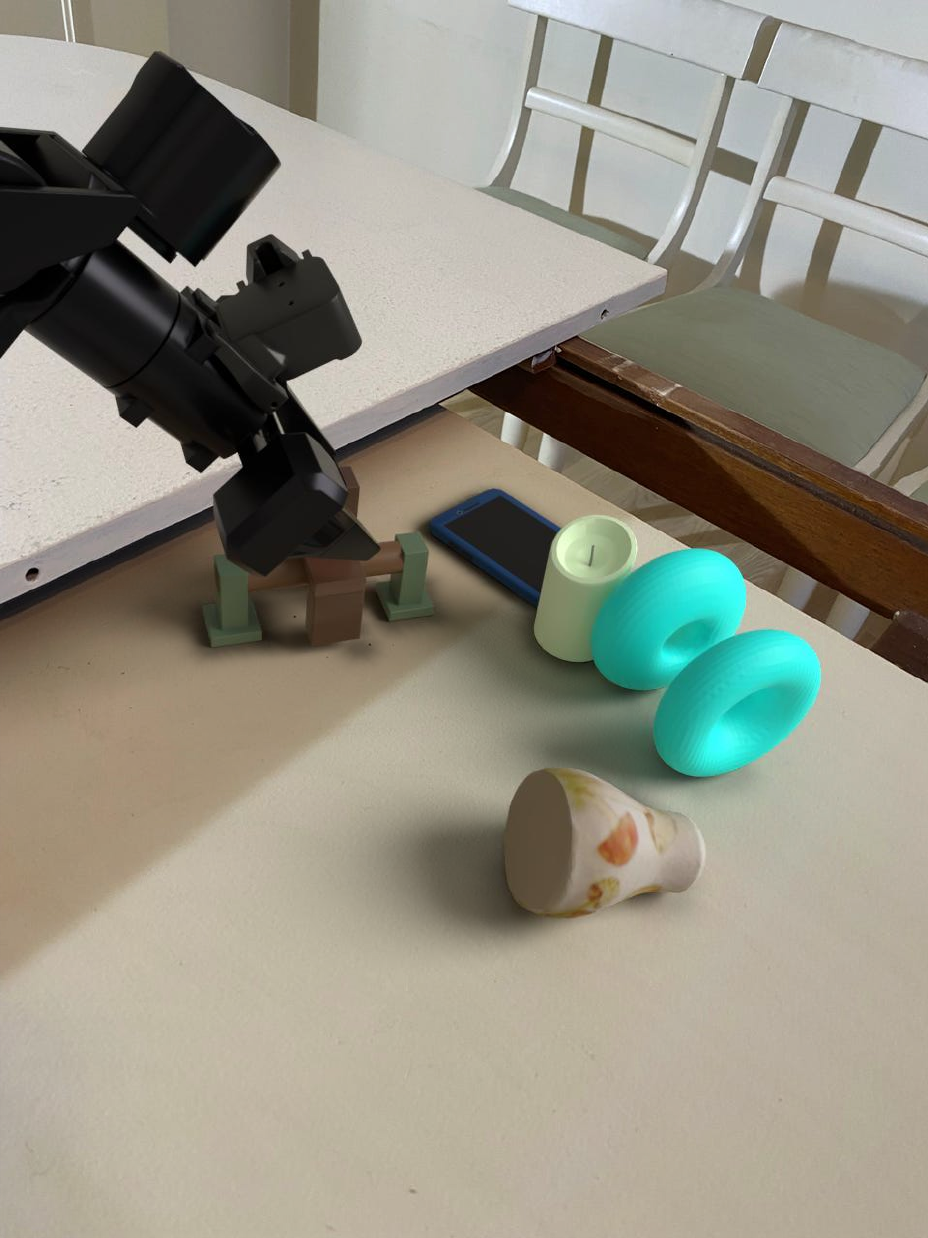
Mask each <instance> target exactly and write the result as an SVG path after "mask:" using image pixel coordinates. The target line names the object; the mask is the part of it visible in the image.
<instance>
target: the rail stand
mask: <svg viewBox="0 0 928 1238" xmlns="http://www.w3.org/2000/svg"><path fill="white" fill-rule="evenodd" d="M378 544H379V546H380V551H379V552H378V553H377V554H376V555H375V556H373V557H372V558H371V559H370V560H368V561H360V563H361V566H362V568H363V571H364V573H365V575H366V578H369V577H377V576H386V575H387V576H388V575H390V578H389V580H385V581H378V582H376V586H375V593H376V595H377V597H378V600H379V602H380V604H381V606H382V609H383V610H384V613H385V615H386V617H387V621H389V622H395V621H402V620H403V621H404V620H408V619H415V618H416V619H417V618H423V617H429V616H430V617H431V616H433V615H434V614H435V608H436V607H435V603H434V602H433V599H431V596H430V594H429V592H428V590H427V588H426V586H425V585H426V576H427V569H428V563H429V556H430V550H429V548H428V546H427V544H426V541H425V540H424V539H423V536H422V534H421V532H420V531H411V532H403V533H396V534H395V535H394V540H389V541H387V540H386V541H380V542H378ZM213 571H214V572H213V573H214V601H215V603H209V604H203V605H202V617H203V620H204V625H205V628H206V631H207V635H208V640H209V643H210V646H211V648H218V647H219V648H220V647H227V646H234V645H240V644H246V643H252V642H261V641H262V640H263V630H262V627H261V623H260V621H259V617H258V614H257V611H256V608H255V604H254V601H253V599H252V598H249V593H255V592H256V593H257V592H262V591H271V590H278V589H279V590H280V589H285V588H286V589H287V588H294V587H302V586H308V578H307V575H306V572H305V569H304V567H303V564H302V561H301V558H291V559H285V560H284V561H283V562H282V563H281V564H280V565H278V566H277V567H276V568H275V569H274V570H273V571H272V572H270V573H269V574H268V575H267V576H266V577H254V576H252V575H251V574H249V573H248V572H246V571H245V570H243V569H241V568H240V567H238V566H237V565H235V564H234V563H232V562H230V561H229V560H227V559H226V555H225V553H223V554H214V555H213Z"/></svg>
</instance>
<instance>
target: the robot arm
mask: <svg viewBox="0 0 928 1238" xmlns="http://www.w3.org/2000/svg"><path fill="white" fill-rule="evenodd" d="M281 167H282V163H281V160H280V158H279V157H278V155H277V154H276V152H275V151H274V150H273V148H272V147H271V146H270V145H269V143H268V142H267V140H265V138H264V137H263V136H262V135H261V134H260V133H259V131H258V130H257V129H256V128H254V127H253V126H252V125H251V124H249V123H247V122H245V121H244V120H242V119H241V118H240V117H238V116H236V114H234V113H233V112H232V111H231V110H230V108H228V107H227V106H225V105H224V103H222V102H221V101H220V100H219V99H218V98H217V97H216V96H215V95H214V94H212V92H210V91H209V90H208V89H207V88H205V87H204V85H202V84H200V83H199V82H198V81H197V79H196V78H195V77H194V76H193V75H192V74H191V73H190V72H189V70H188V69H187V68H186V67H185V66H184V64H182V63H180V62H179V61H177V60H175V59H174V58H172V57H171V56H169V55H168V54H166V53H165V52H163V51H161V50H155V51H153V52H152V53H151V55H150V56H149V57H148V59H147V60H146V61H145V62H144V63H143V65H142V66H141V68H140V69H139V70H138V72H137V73H136V75H135V76H134V79H133V81H132V84H131V86H130V88H129V89H128V91H127V92H126V94H125V95H124V97H122V99H121V101H120V102H119V103H118V104H117V105H116V107H115V108H114V109H113V110H112V112H111V113H110V114H109V115H108V117H107V118H106V120H105V121H104V122H103V123H102V125H100V127H99V128H98V129H97V130H96V132H95V133H94V134H93V135H92V137H91V138H90V139H89V141H87V143H86V145H85V146H84V147H83V148H82V150H79V149H78V148H77V147H76V146H74V145H73V144H72V143H70V142H69V141H68V140H66V139H65V138H64V137H63V136H62V135H60V134H59V133H58V132H56V131H55V130H44V129H32V128H21V127H20V128H19V127H18V128H17V127H8V126H0V360H1V359H2V358H3V356H4V355H5V354H6V353H7V351H8V350H9V349H10V348H11V346H12V345H13V344H14V343H15V341H16V340H17V339H18V338H19V336H20V335H21V334H22V332H23V331H25V332H26V333H27V334H28V335H30V336H31V337H33V338H34V339H35V340H37V341H39V342H40V343H41V344H43V345H44V346H45V347H47V348H48V349H49V350H51V351H52V352H53V353H55V354H56V355H58V356H59V357H61V358H62V359H64V360H65V361H67V363H69V364H70V365H72V366H74V367H75V368H76V369H78V370H79V371H80V372H82V373H83V374H84V375H86V376H88V377H89V378H90V379H91V380H93V381H94V382H96V383H97V384H99V386H101V387H102V388H103V389H105V390H107V391H108V392H109V393H111V394H112V395H114V398H115V402H116V407H117V411H118V417H120V418H121V419H123V420H124V421H125V422H127V423H128V424H130V425H131V426H132V427H134V428H135V429H138V427H139V426H140V425H141V424H142V423H144V422H145V420H148V421H150V422H151V423H152V424H154V425H156V426H157V427H158V428H160V429H161V430H163V431H164V432H165V433H167V434H168V435H169V436H171V438H173V439H175V440H176V441H178V442H179V443H180V447H181V451H182V454H183V458H184V461H185V463H186V464H187V465H188V466H190V467H191V468H192V469H194V470H195V471H196V472H198V473H200V474H202V473H203V472H204V471H206V470H207V469H208V468H209V467H210V466H211V465H212V464H213V463H214V462H215V461H217V460H218V459H219V458H221V459H223V460H227V459H229V458H231V457H233V456H234V455H236V454H237V455H238V458H239V461H240V465H241V466H242V467H241V468H240V469H239V470H238V471H236V472H235V473H234V474H233V475H232V476H231V477H230V478H229V479H228V480H227V481H226V482H225V483H224V484H223V485H221V486H220V487H219V488H218V489H217V490H216V491H215V492H214V493H212V508H213V519H214V522H215V525H216V529H217V533H218V535H219V539H220V541H221V545H222V549H223V552H224V554H225V555H226V559H227V560H229V561H230V562H232V563H234V564H235V565H237V566H238V567H240V568H241V569H243V570H245V571H246V572H248V573H249V574H251V575H252V576H254V577H266V576H267V575H268V574H269V573H270V572H272V571H273V570H274V569H275V568H276V567H277V566H278V565H280V564H281V563H282V562H283V561H284V560H285V559H291V558H322V559H339V560H356V561H368V560H370V559H371V558H372V557H373V556H375V555H376V554H377V553H378V552H379V551H380V546H379V544H378V543H379V542H378V541H377V540H376V538H375V537H374V536H373V535H372V534H371V533H370V532H369V530H368V529H367V528H366V527H365V525H364V524H363V523H362V522H361V521H360V520H359V519H358V517H357V518H356V517H355V515H354V514H353V513H352V512H351V511H350V510H349V509H348V507H347V506H346V505H345V502H346V500H347V497H348V494H349V492H348V488H347V484H346V481H345V479H344V477H343V475H342V473H341V471H340V468H339V467H340V466H339V464H338V462H337V460H336V457H337V452H336V451H337V450H336V449H335V448H334V447H333V445H332V444H331V442H330V441H329V439H328V438H327V437H326V435H325V434H324V433H323V431H322V430H321V428H320V427H319V426H318V424H317V423H316V422H315V420H314V419H313V417H312V416H311V415H310V413H309V412H308V411H307V409H306V408H305V406H304V405H303V404H302V402H301V401H300V399H299V397H297V395H296V394H295V392H294V391H293V390H292V388H291V386H290V385H289V384H288V382H290V381H293V380H295V379H298V378H299V377H301V376H304V375H305V374H308V373H309V372H311V371H314V370H316V369H318V368H321V367H322V366H325V365H326V364H329V363H331V362H333V361H335V360H337V361H343V360H345V359H347V358H349V357H352V356H353V355H354V354H356V353H357V352H358V351H359V350H360V348H361V346H362V344H363V339H362V336H361V334H360V332H359V329H358V326H357V325H356V322H355V320H354V318H353V315H352V313H351V311H350V309H349V307H348V303H347V301H346V299H345V297H344V294H343V292H342V290H341V288H340V285H339V283H338V281H337V280H336V278H335V277H334V274H333V273H332V271H331V269H330V267H329V266H328V264H327V263H326V261H325V259H323V258H322V257H321V256H314V255H313V254H312V253H311V251H310V250H309V249H304V250H303V251H301V255H302V257H303V258H301V257H300V256H299V255H298V253H297V252H296V251H295V250H294V249H293V248H291V247H290V246H288V245H287V244H286V243H285V242H284V241H282V240H280V238H278V237H277V236H275V234H273V233H270V234H267V235H265V236H262V237H260V238H259V239H256V240H253V241H252V242H251V243H250V242H249V243H248V244H247V245H246V259H245V261H246V262H245V277H246V281H247V284H246V283H245V281H244V280H243V279H241V280H239V281H237V282H236V283H235V285H236V287H237V289H238V291H237V293H235V294H221V295H220V296H219V297H218V298H217V299H215V300H214V299H213V298H212V297H210V295H208V294H207V293H206V292H205V291H203V290H202V289H201V288H200V287H197V288H195V290H193V289H192V288H191V287H190V286H189V285H186V286H185V287H184V288H183V289H182V290H181V291H179V290H177V288H176V287H174V286H173V285H172V284H171V283H169V282H168V281H167V280H166V279H165V278H164V277H162V276H161V274H159V273H157V271H155V269H153V268H152V267H151V266H150V265H148V263H146V262H145V261H143V259H141V257H139V256H138V255H136V253H134V252H133V251H132V250H130V248H128V247H127V246H126V245H125V244H124V243H122V242H121V241H120V240H119V239H118V238H119V237H120V236H121V235H122V233H123V232H124V231H125V230H126V229H128V230H130V232H132V234H134V235H135V236H137V238H138V239H140V240H141V241H142V242H144V244H146V245H147V246H148V247H149V248H151V249H152V250H153V251H154V252H155V254H158V256H160V257H161V258H162V259H164V261H166V262H167V263H168V264H170V265H171V264H172V263H173V261H174V260H175V259H176V258H177V257H178V254H179V255H180V256H181V257H182V258H183V259H184V260H185V261H186V262H188V263H189V264H190V265H191V266H193V268H197V266H198V265H199V264H200V262H201V261H203V262H205V261H206V259H207V258H208V257H209V256H210V254H211V253H212V252H213V251H214V249H215V248H216V247H217V246H218V245H219V243H220V242H221V241H222V240H223V238H224V237H225V236H226V235H227V234H228V232H229V231H230V230H231V229H232V228H233V226H234V225H235V223H236V222H237V221H238V220H239V219H240V217H241V216H242V215H243V214H244V213H245V211H246V210H247V209H248V208H249V206H250V205H251V204H252V203H253V202H254V200H255V199H256V198H257V196H259V194H260V193H261V192H262V190H263V189H264V188H265V187H266V185H267V184H268V183H269V182H270V180H271V179H272V178H273V177H274V176H275V174H276V173H277V172H278V171H279V169H280V168H281Z"/></svg>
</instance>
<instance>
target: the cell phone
mask: <svg viewBox="0 0 928 1238" xmlns="http://www.w3.org/2000/svg"><path fill="white" fill-rule="evenodd" d="M428 529H429V531H430V533H431V534H432V535H433V536H434V537H435V538H437V539H438V540H440V541H441V542H443V543H444V544H445V545H447V546H448V547H450V548H451V549H453V550H454V551H455V552H457V553H458V554H459V555H461V556H463V558H465V559H466V560H468V561H469V562H471V563H472V564H474V565H476V567H478V568H480V569H481V570H483V571H484V572H485V573H487V574H488V575H490V576H491V577H492V578H494V579H495V580H496V581H498V582H500V583H501V584H502V585H504V586H505V587H507V588H508V589H510V590H511V591H512V592H514V593H515V594H517V595H518V596H519V597H521V598H523V599H524V600H525V601H527V602H528V603H530V604H531V605H533V607H535V608H537V609H538V605H539V600H540V595H541V590H542V586H543V581H544V576H545V572H546V567H547V562H548V557H549V553H550V548H551V544H552V541H553V539H554V537H555V536H556V534H557V533H558V532H559V531H560V530H561V529H562V527H560V526H558V525H557V524H556V523H554V522H552V521H551V520H549V519H548V518H546V517H544V516H543V515H541V514H540V513H538V512H537V511H535V510H534V509H532V508H531V507H529V506H528V505H526V504H524V503H523V502H521V501H520V500H518V499H517V498H516V497H514V496H512V495H511V494H509V493H508V492H506V491H504V490H502V489H499V488H493V487H492V488H489V489H486V490H484V491H482V492H480V493H478V494H476V495H474V496H472V497H470V498H469V499H467V500H464V501H463V502H461V503H459V504H457V505H455V506H453V507H451V508H449V509H447V510H445V511H444V512H441V513H440V514H438V515H436V516H434V517H433V518H431V519H430V521H429V526H428Z"/></svg>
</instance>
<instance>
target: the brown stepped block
mask: <svg viewBox="0 0 928 1238" xmlns="http://www.w3.org/2000/svg"><path fill="white" fill-rule="evenodd" d="M339 468H340V471H341V473H342V475H343V477H344V479H345V481H346V484H347V488H348V492H349V494H348V497H347V500H346V502H345V505H346V506H347V507H348V509H349V510H350V511H351V512H352V513H353V514H354V515H355V517H356V518H357V519H358V513H359V500H360V491H361V490H360V489H361V486H360V484H359V481H358V479H357V478H356V474H355V473H354V471H353V469H352V466H351V465H346V466H339ZM301 561H302V564H303V567H304V569H305V572H306V575H307V578H308V585H307V590H306V591H307V592H306V608H305V625H304V626H305V627H304V628H305V631H306V634H307V637H308V640H309V643H310V645H311V646H318V645H327V644H333V643H340V642H345V641H346V642H347V641H352V640H358V639H360V638H361V629H362V620H363V614H364V613H363V612H364V611H363V610H364V604H365V595H366V594H365V592H366V585H367V577H366V575H365V573H364V571H363V568H362V566H361V563H360V561H356V560H339V559H322V558H301Z"/></svg>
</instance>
